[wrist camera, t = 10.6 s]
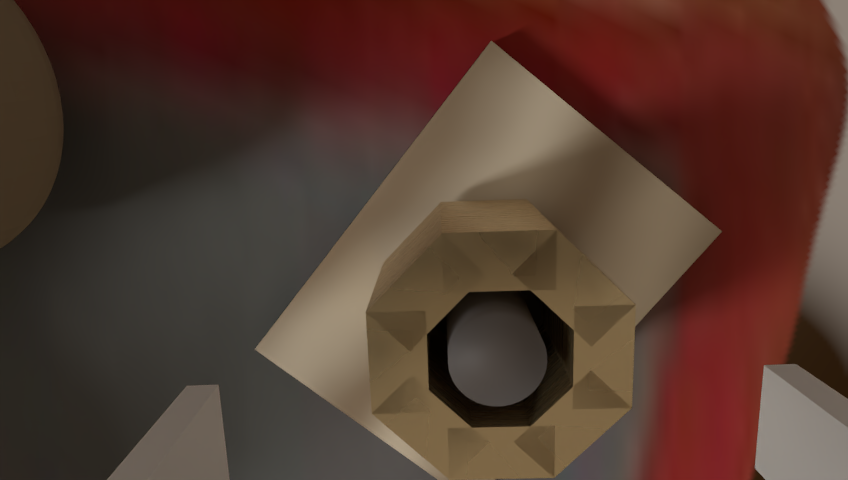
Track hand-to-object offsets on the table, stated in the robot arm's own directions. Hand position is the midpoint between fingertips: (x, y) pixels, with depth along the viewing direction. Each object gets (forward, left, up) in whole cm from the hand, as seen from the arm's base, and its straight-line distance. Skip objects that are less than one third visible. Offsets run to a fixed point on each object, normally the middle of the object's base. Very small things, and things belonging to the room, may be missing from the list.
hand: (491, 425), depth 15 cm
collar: (0, 0, -10) cm, 10 cm away
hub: (0, 0, -12) cm, 12 cm away
